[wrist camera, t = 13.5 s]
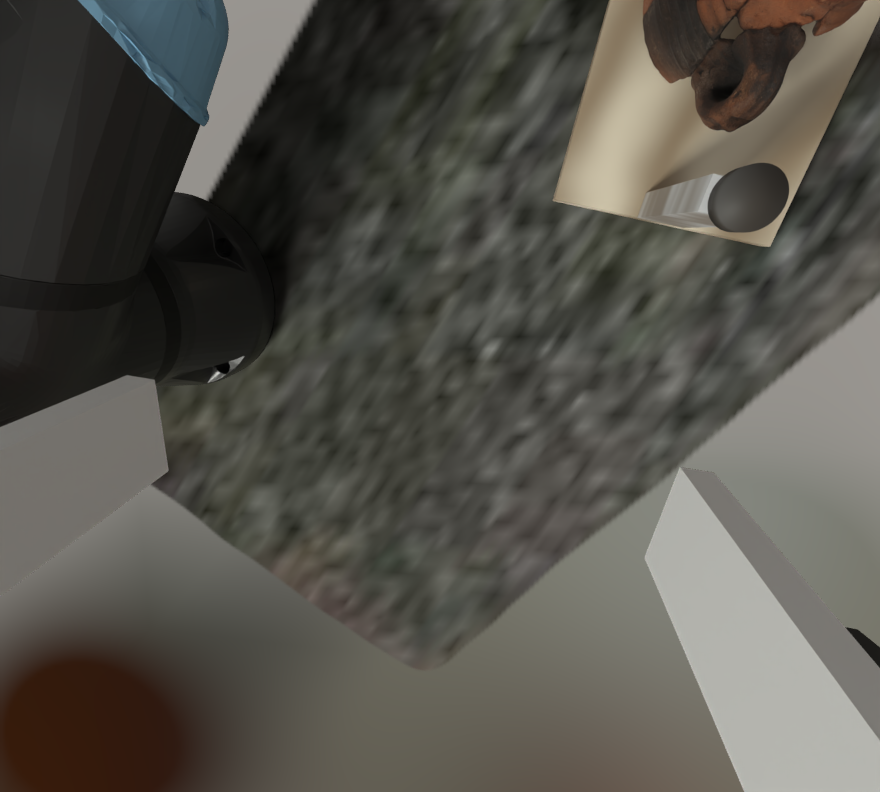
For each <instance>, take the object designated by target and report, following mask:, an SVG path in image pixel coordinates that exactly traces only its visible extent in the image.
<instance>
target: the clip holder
mask: <svg viewBox="0 0 880 792" xmlns="http://www.w3.org/2000/svg"><path fill="white" fill-rule="evenodd" d="M643 1H644V0H609V2H608V6H607V9H606V13H605V16H604V20H603V24H602V27H601V31H600V34H599V38H598V41H597V45H596V48H595V52H594V56H593V59H592V63H591V66H590V70H589V73H588V77H587V80H586V84H585V87H584V91H583V95H582V98H581V102H580V105H579V109H578V112H577V116H576V119H575V123H574V127H573V130H572V134H571V137H570V141H569V144H568V148H567V151H566V155H565V159H564V162H563V166H562V169H561V173H560V176H559V180H558V183H557V187H556V190H555V194H554V198H553V201H556V202H560V203H565V204H570V205H574V206H579V207H583V208H588V209H592V210H597V211H602V212H606V213H611V214H615V215H620V216H624V217H629V218H634V219H638V220H643V221H647V222H652V223H656V224H661V225H666V226H670V227H675V228H679V229H684V230H688V231H693V232H698V233H702V234H707V235H711V236H716V237H720V238H725V239H730V240H734V241H739V242H743V243H748V244H752V245H757V246H766V247H770V246H771V243H772V241H773V239H774V237H775V235H776V233H777V231H778V229H779V227H780V225H781V223H782V220H783V218H784V216H785V214H786V212H787V210H788V208H789V206H790V204H791V202H792V200H793V197H794V195H795V193H796V191H797V189H798V187H799V185H800V183H801V181H802V179H803V177H804V175H805V172H806V170H807V168H808V166H809V164H810V162H811V160H812V158H813V156H814V154H815V152H816V149H817V147H818V145H819V143H820V141H821V139H822V137H823V135H824V133H825V131H826V129H827V126H828V124H829V122H830V120H831V118H832V116H833V114H834V112H835V110H836V108H837V106H838V103H839V101H840V99H841V97H842V95H843V93H844V91H845V89H846V87H847V85H848V83H849V80H850V78H851V76H852V74H853V72H854V70H855V68H856V66H857V64H858V62H859V60H860V57H861V55H862V53H863V51H864V49H865V47H866V45H867V43H868V41H869V39H870V37H871V34H872V32H873V30H874V28H875V26H876V24H877V22H878V20H879V18H880V0H867V1H865V2H864V4H863V5H862V7H861V8H860V10H859V11H858V12H857V13H855V14H854V15H853V16H852V17H851V18H850V19H849V20H848V21H846V22H845V23H844V24H842V25H841V26H839V27H837V28H834V29H833V30H831V31H829V32H827V33H824V34H822V35H819V36H814V35H813V34H812V30H813V27H814V25H815V23H816V21H817V20H816V21H813V22H811V23H809V24H805V25H803V26H802V27H801V28H802V29H803V30H804V31H805V34H806V41H805V44H804V46H803V48H802V49H801V50H800V51H799V53H798V54H797V55H796V56H795V57H794V58H793V59H792V60H791V61H790V63H789V65H788V68H787V71H786V73H785V76H784V80H783V84H782V86H781V88H780V90H779V92H778V93H777V95H776V97H775V98H774V100H773V101H772V103H771V104H770V105H769V106H768V107H767V109H766V110H765V111H764V112H763V113H762V114H761V115H759V116H758V117H757V118H755V119H754V120H753V121H751V122H749V123H748V124H746V125H744V126H742V127H740V128H738V129H736V130H735V131H733V132H726V131H725V130H719V131H717V130H712V129H710V128H708V127H707V126H706V125H705V124H704V123H703V122H702V120H701V118H700V116H699V115H698V113H697V110H696V106H695V91H694V90H693V88H692V86H691V77H687V78H685V79H679V80H678V81H676V82H674V83H669V82H668V81H666V80H665V78H664V77H662V75H661V74H660V73H659V71H658V70H657V69H656V68H655V66H654V65H653V63H652V60H651V58H650V56H649V52H648V49H647V46H646V43H645V40H644V30H643ZM742 32H743V29H742V28H740V26H739V24H738V19H737V17H734V19H733V20H731V22H730V23H729V24H728V25H727V27H726V28H725V29H724V31H723V32H722V33H721V38H725V39H736V37H737V36H738V35H739V34H741V33H742Z"/></svg>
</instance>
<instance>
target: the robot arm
mask: <svg viewBox="0 0 880 792" xmlns="http://www.w3.org/2000/svg"><path fill="white" fill-rule="evenodd" d="M228 30H229V28H228V18H227V13H226V9H225V6H224V3H223V0H0V597H1V596H2V595H3V594H5V593H6V592H7V591H9V590H10V589H11V588H13V587H14V586H15V585H17V584H18V583H19V582H21V581H22V580H23V579H25V578H26V577H27V576H29V575H30V574H31V573H33V572H34V571H35V570H37V569H38V568H39V567H41V566H42V565H43V564H45V563H46V562H47V561H49V560H50V559H51V558H53V557H54V556H55V555H57V554H58V553H59V552H61V551H62V550H63V549H65V548H66V547H67V546H68V545H70V544H71V543H73V542H74V541H75V540H77V539H78V538H79V537H81V536H82V535H83V534H85V533H86V532H87V531H89V530H90V529H91V528H93V527H94V526H95V525H97V524H98V523H99V522H101V521H102V520H103V519H105V518H106V517H108V516H109V515H110V514H112V513H113V512H114V511H116V510H117V509H118V508H120V507H121V506H122V505H123V504H125V503H126V502H128V501H129V500H130V499H131V498H133V497H134V496H135V495H137V494H138V493H139V492H141V491H142V490H143V489H145V488H146V487H148V486H149V485H150V484H152V483H153V482H154V481H156V480H157V479H158V478H160V477H161V476H162V475H164V474H165V473H166V472H168V464H167V458H166V451H165V444H164V438H163V431H162V424H161V418H160V411H159V404H158V398H157V391H156V386H179V385H201V384H208V383H212V382H216V381H219V380H222V379H225V378H227V377H229V376H231V375H233V374H235V373H237V372H239V371H241V370H242V369H244V368H246V367H247V366H249V365H250V364H251V363H252V362H253V361H254V360H255V359H256V358H257V357H258V356H259V355H260V354H261V352H262V351H263V349H264V348H265V346H266V344H267V342H268V340H269V337H270V334H271V331H272V327H273V322H274V314H275V301H274V292H273V286H272V282H271V278H270V275H269V272H268V269H267V266H266V264H265V262H264V259H263V257H262V255H261V253H260V252H259V250H258V248H257V247H256V245H255V243H254V242H253V240H252V239H251V238H250V236H249V235H248V234H247V233H246V231H245V230H244V229H243V228H242V227H241V226H240V225H239V224H238V223H237V222H236V221H235V220H234V219H233V218H232V217H231V216H230V215H228V214H227V213H226V212H224V211H223V210H222V209H220V208H219V207H217V206H216V205H214V204H212V203H210V202H208V201H206V200H204V199H202V198H199V197H196V196H193V195H189V194H184V193H178V192H174V191H175V188H176V186H177V183H178V181H179V178H180V176H181V173H182V171H183V168H184V165H185V163H186V160H187V158H188V155H189V153H190V150H191V148H192V145H193V142H194V140H195V137H196V135H197V132H198V130H199V127H200V125H202V126H205V125H206V124H207V122H208V120H209V114H208V111H207V105H208V102H209V98H210V95H211V92H212V89H213V86H214V83H215V79H216V77H217V74H218V71H219V68H220V64H221V61H222V58H223V55H224V52H225V49H226V46H227V41H228ZM645 560H646V563H647V565H648V567H649V570H650V572H651V574H652V577H653V579H654V581H655V584H656V586H657V588H658V591H659V593H660V595H661V598H662V600H663V602H664V604H665V607H666V609H667V612H668V614H669V616H670V619H671V621H672V623H673V626H674V628H675V630H676V633H677V635H678V637H679V640H680V642H681V644H682V647H683V649H684V652H685V654H686V656H687V659H688V661H689V663H690V666H691V668H692V670H693V672H694V675H695V677H696V680H697V682H698V684H699V687H700V689H701V691H702V694H703V696H704V698H705V701H706V703H707V705H708V708H709V710H710V712H711V715H712V717H713V719H714V722H715V724H716V726H717V729H718V731H719V734H720V736H721V738H722V740H723V743H724V745H725V747H726V750H727V752H728V755H729V757H730V759H731V761H732V763H733V766H734V769H735V771H736V773H737V775H738V778H739V780H740V783H741V785H742V787H743V790H744V792H880V647H879V646H877V645H876V644H875V643H874V642H872V641H871V640H870V639H869V638H867V637H866V636H865V635H864V634H862V633H861V632H860V631H859V630H857V629H852V628H846V627H844V625H843V624H842V623H841V622H840V621H839V619H838V618H836V616H835V615H834V614H833V612H832V611H831V610H830V609H829V608H828V607H827V605H826V604H825V603H824V602H823V601H822V599H821V598H820V597H819V596H818V595H817V594H816V592H815V591H814V590H813V589H812V588H811V586H810V585H809V584H808V583H807V582H806V581H805V579H804V578H803V577H802V576H801V575H800V574H799V573H798V571H797V570H796V569H795V568H794V567H793V565H792V564H791V563H790V562H789V561H788V559H787V558H786V557H785V556H784V555H783V554H782V552H781V551H780V550H779V549H778V548H777V546H776V545H775V544H774V543H773V542H772V541H771V539H770V538H769V537H768V536H767V535H766V533H764V531H763V530H762V529H761V528H760V526H759V525H758V524H757V523H756V522H755V521H754V519H753V518H752V517H751V516H750V515H749V514H748V512H747V511H746V510H745V509H744V508H743V507H742V505H741V504H740V503H739V502H738V501H737V499H736V498H735V497H734V496H733V495H732V493H731V492H730V491H729V490H728V489H727V488H726V486H724V484H723V483H722V482H721V480H720V479H719V478H718V477H717V476H716V475H715V473H713V472H708V471H702V470H696V469H690V468H684V467H680V468H679V470H678V473H677V476H676V478H675V481H674V483H673V486H672V489H671V491H670V493H669V496H668V499H667V501H666V504H665V506H664V509H663V511H662V514H661V517H660V519H659V522H658V524H657V527H656V529H655V532H654V534H653V537H652V540H651V542H650V545H649V547H648V550H647V552H646V555H645Z"/></svg>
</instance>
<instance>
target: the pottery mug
mask: <svg viewBox="0 0 880 792" xmlns="http://www.w3.org/2000/svg"><path fill="white" fill-rule="evenodd" d="M865 1H867V0H644V1H643V30H644V40H645V43H646V46H647V49H648V52H649V56H650V58H651V60H652V63H653V65H654V66H655V68H656V69H657V70H658V71H659V73H660V74H661V75H662V77H664V78H665V80H666V81H668V82H669V83H674V82H676V81H678V80H679V79H685V78H687V77H691V86H692V88H693V90H694V91H695V106H696V110H697V113H698V115H699V116H700V118H701V120H702V122H703V123H704V124H705V125H706V126H707V127H708V128H710V129H712V130H717V131H719V130H725V131H726V132H733V131H735V130H736V129H738V128H740V127H742V126H744V125H746V124H748V123H749V122H751V121H753V120H754V119H755V118H757V117H758V116H759V115H761V114H762V113H763V112H764V111H765V110H766V109H767V107H768V106H769V105H770V104H771V103H772V101H773V100H774V98H775V97H776V95H777V93H778V92H779V90H780V88H781V86H782V84H783V80H784V76H785V73H786V71H787V68H788V65H789V63H790V61H791V60H792V59H793V58H794V57H795V56H796V55H797V54H798V53H799V51H800V50H801V49H802V48H803V46H804V44H805V41H806V34H805V31H804V30H803V29H802V28H801V27H802V26H803V25H805V24H809V23H811V22H813V21H816V20H817V21H816V23H815V25H814V27H813V30H812V34H813V35H814V36H819V35H822V34H824V33H827V32H829V31H831V30H833V29H834V28H837V27H839V26H841V25H842V24H844V23H845V22H846V21H848V20H849V19H850V18H851V17H852V16H853V15H854V14H855V13H857V12H858V11H859V10H860V8H861V7H862V5H863V4H864V2H865ZM734 17H737V19H738V24H739V26H740V28H742V29H743V32H742V33H741V34H739V35H738V36H737V37H736V39H725V38H721V33H722V32H723V31H724V29H725V28H726V27H727V25H728V24H729V23H730V22H731V20H733V19H734Z"/></svg>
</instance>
